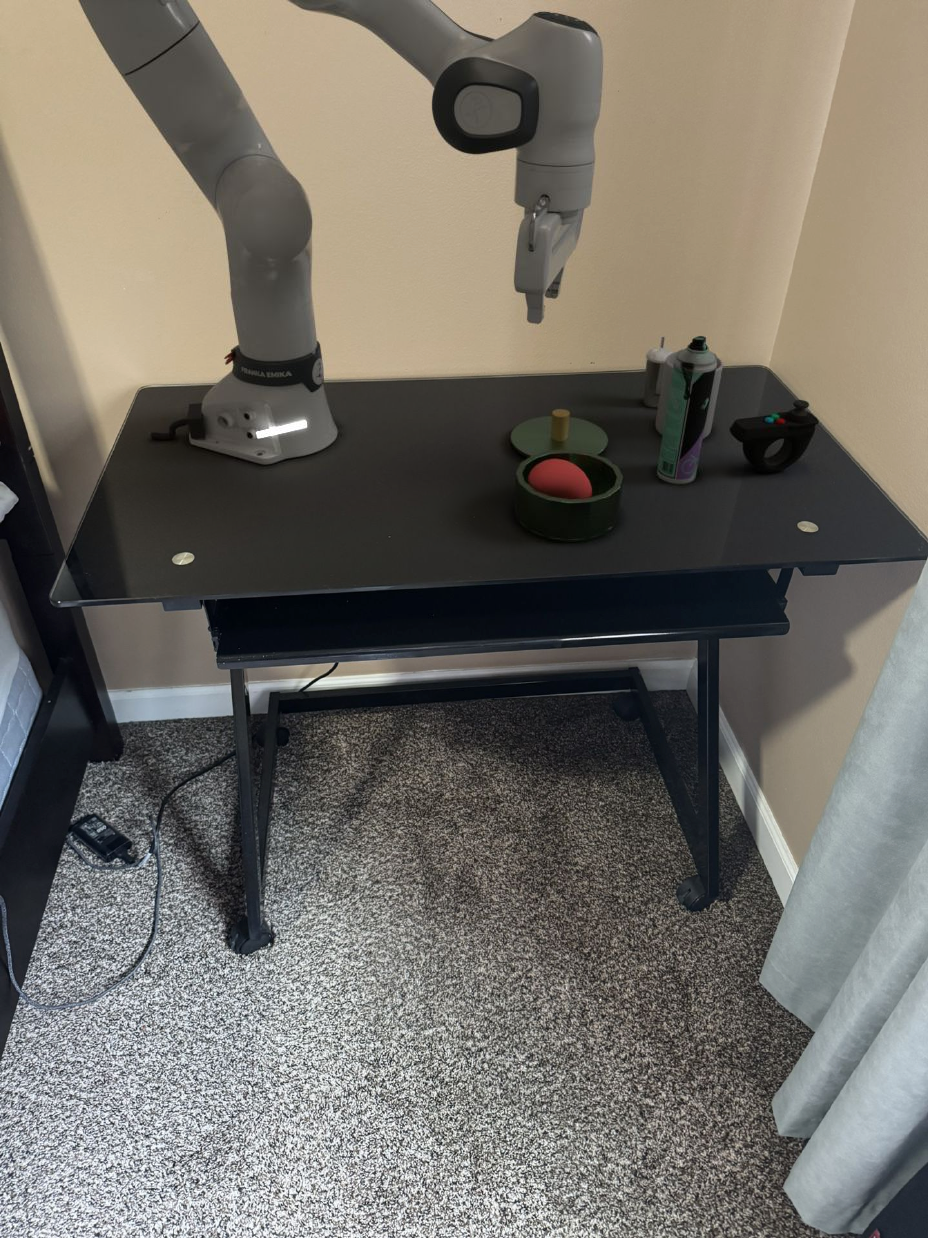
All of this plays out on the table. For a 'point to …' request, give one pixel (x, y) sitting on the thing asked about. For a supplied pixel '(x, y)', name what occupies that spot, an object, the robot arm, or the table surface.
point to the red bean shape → (560, 480)
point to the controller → (776, 436)
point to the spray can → (686, 412)
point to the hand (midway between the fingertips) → (543, 308)
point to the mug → (666, 388)
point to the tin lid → (558, 435)
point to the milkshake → (655, 374)
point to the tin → (570, 500)
